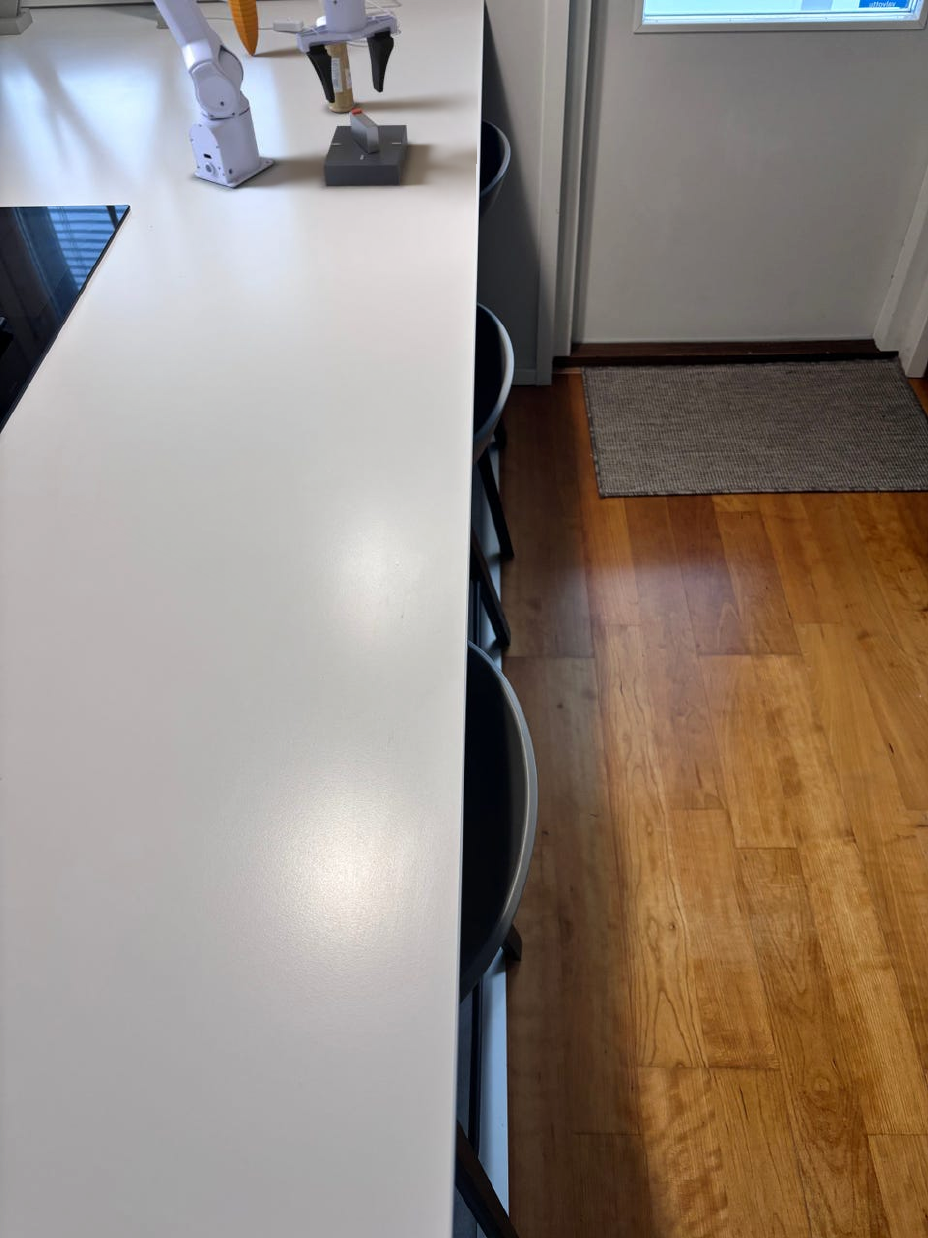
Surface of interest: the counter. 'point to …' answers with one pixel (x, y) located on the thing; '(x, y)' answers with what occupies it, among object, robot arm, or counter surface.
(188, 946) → the counter surface
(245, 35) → the carrot
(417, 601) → the counter surface
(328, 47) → the sprinkles bottle
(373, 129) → the tap handle
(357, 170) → the base
